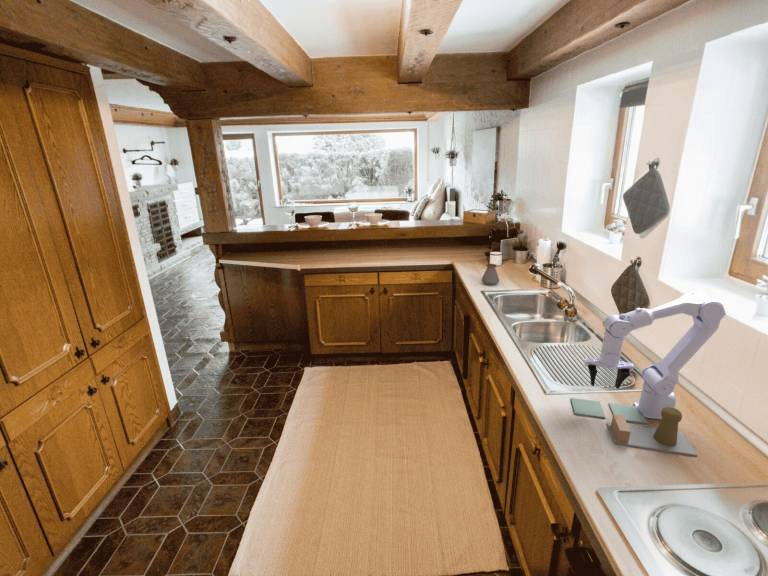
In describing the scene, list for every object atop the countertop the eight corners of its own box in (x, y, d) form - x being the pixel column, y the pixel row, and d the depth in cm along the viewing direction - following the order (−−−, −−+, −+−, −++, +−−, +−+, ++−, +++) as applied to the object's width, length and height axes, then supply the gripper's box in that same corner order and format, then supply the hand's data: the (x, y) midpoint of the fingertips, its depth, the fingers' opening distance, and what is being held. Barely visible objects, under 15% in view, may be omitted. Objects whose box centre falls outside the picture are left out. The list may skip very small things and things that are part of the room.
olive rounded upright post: (667, 432, 128) (675, 403, 124) (681, 446, 122) (690, 416, 119) (648, 433, 128) (656, 404, 124) (661, 446, 122) (669, 416, 118)
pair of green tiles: (638, 407, 141) (639, 406, 141) (647, 424, 133) (647, 422, 133) (570, 399, 146) (570, 397, 146) (574, 414, 138) (575, 413, 138)
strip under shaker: (682, 434, 128) (686, 422, 126) (696, 456, 119) (700, 444, 117) (606, 423, 134) (609, 411, 132) (614, 444, 125) (616, 431, 123)
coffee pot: (500, 286, 260) (502, 264, 255) (482, 286, 260) (484, 264, 255) (493, 276, 280) (495, 255, 275) (477, 276, 280) (478, 255, 275)
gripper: (589, 353, 131) (583, 389, 136) (639, 359, 128) (631, 395, 132) (585, 343, 138) (579, 378, 142) (633, 348, 134) (625, 383, 139)
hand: (604, 385), depth 138 cm, fingers open, 7 cm apart
